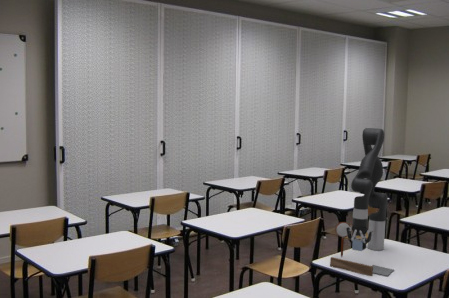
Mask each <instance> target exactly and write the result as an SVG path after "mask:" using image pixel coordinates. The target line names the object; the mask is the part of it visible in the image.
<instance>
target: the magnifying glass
mask: <svg viewBox="0 0 449 298" xmlns="http://www.w3.org/2000/svg"><path fill="white" fill-rule="evenodd" d="M347 227H351V225H350V223H348V222H346V221H340V222H338V223H337V224H336V226H335V229H334V231H335V233H336V235H337V236H338V237H340V238H341V241H340V243H341V245H340V257H341V258H343V256H344V244H345V243H344V242H345V241H344V240H345V238H346V237H347V238H348V235H347V230H346V228H347Z"/></svg>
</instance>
